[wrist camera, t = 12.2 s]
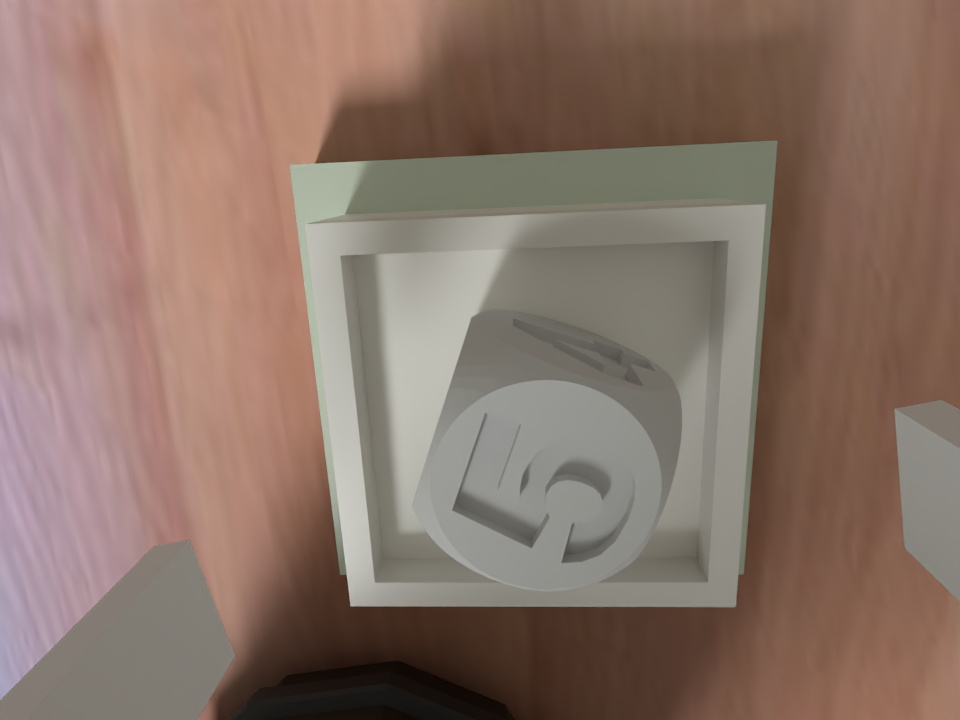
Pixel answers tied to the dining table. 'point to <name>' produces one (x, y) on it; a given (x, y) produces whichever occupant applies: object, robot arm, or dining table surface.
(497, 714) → the black bucket
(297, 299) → the dining table surface
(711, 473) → the tower base
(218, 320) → the dining table surface
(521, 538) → the die
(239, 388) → the dining table surface
